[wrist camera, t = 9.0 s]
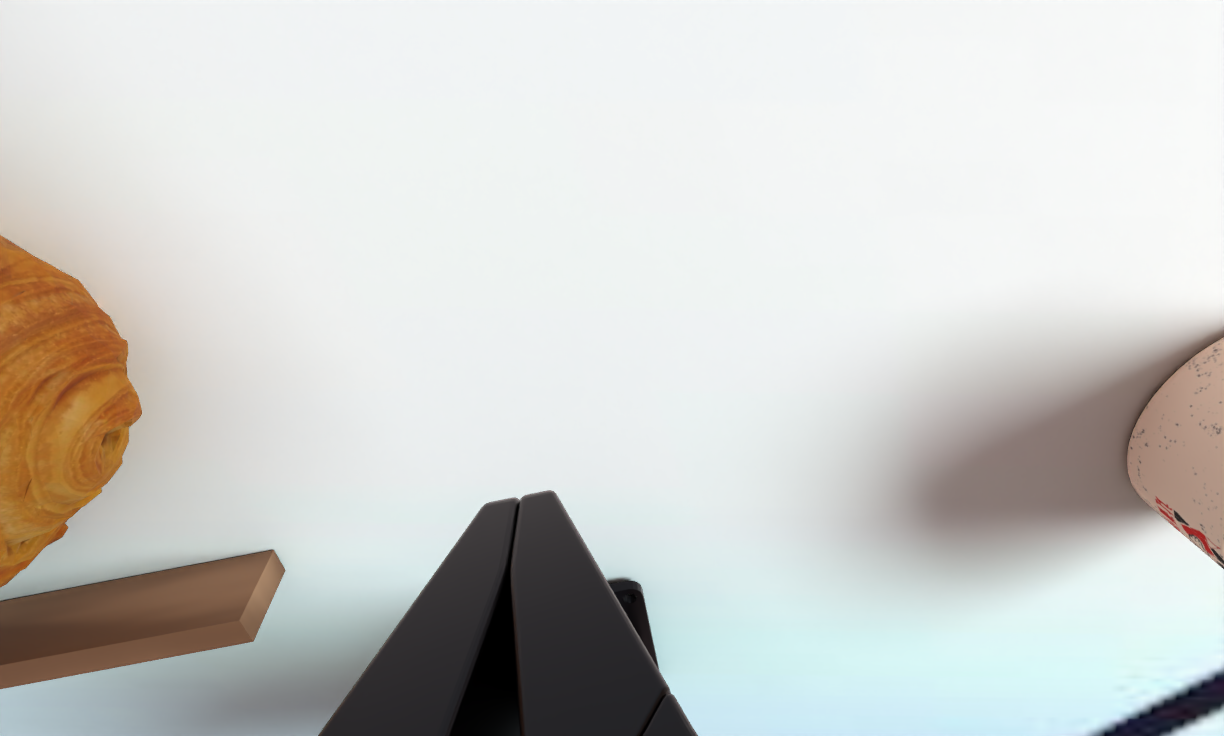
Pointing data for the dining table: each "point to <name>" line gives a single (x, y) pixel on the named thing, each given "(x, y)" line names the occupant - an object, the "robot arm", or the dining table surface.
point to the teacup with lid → (1185, 451)
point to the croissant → (54, 404)
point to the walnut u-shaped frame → (136, 618)
